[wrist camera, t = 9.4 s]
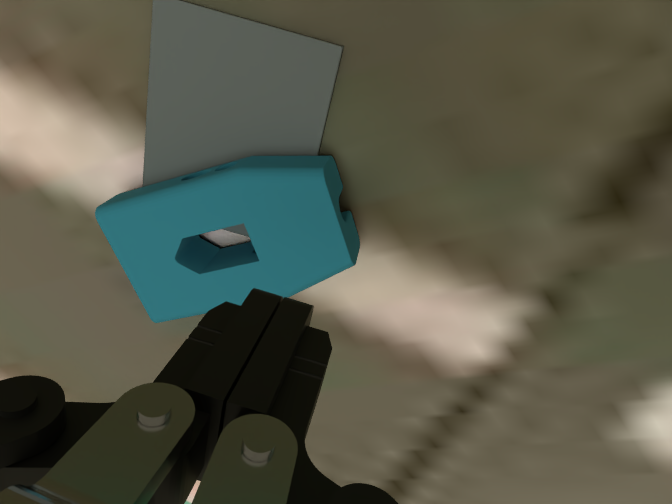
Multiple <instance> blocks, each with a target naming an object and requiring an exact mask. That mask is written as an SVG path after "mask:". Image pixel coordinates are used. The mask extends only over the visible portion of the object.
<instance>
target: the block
mask: <svg viewBox="0 0 672 504" xmlns="http://www.w3.org/2000/svg"><path fill="white" fill-rule="evenodd" d="M342 189H343V185H342V182H341V179H340V175H339V172H338V169H337V166H336V163H335V160H334V158H333V157H332V156H250V157H246V158H243V159H239V160H236V161H232V162H229V163H225V164H222V165H218V166H215V167H211V168H208V169H204V170H201V171H197V172H194V173H190V174H187V175H183V176H180V177H176V178H173V179H169V180H166V181H162V182H159V183H155V184H152V185H148V186H145V187H141V188H138V189H134V190H131V191H127V192H124V193H120V194H118V195H116V196H114V197H113V198H111V199H110V200H108V201H106V202H105V203H103V204H101V205H100V206H98V207H97V209H96V212H95V216H96V219H97V221H98V223H99V225H100V227H101V229H102V231H103V232H104V234H105V236H106V238H107V240H108V242H109V243H110V245H111V247H112V249H113V251H114V253H115V254H116V256H117V258H118V260H119V262H120V264H121V265H122V267H123V269H124V271H125V273H126V274H127V276H128V278H129V280H130V282H131V284H132V285H133V287H134V289H135V291H136V293H137V295H138V296H139V298H140V300H141V302H142V304H143V306H144V307H145V309H146V311H147V313H148V315H149V317H150V318H151V320H152V321H153V322H155V323H159V322H164V321H169V320H174V319H179V318H184V317H190V316H195V315H200V314H205V313H207V312H208V311H209V310H211V309H213V308H214V307H216V306H218V305H220V304H222V303H224V302H226V301H227V302H230V303H233V304H237V305H240V306H241V305H242V303H243V302H244V300H245V299H246V297H247V296H248V294H249V293H250V291H251V290H252V289H253V288H256V289H260V290H263V291H266V292H269V293H273V294H276V295H279V296H283V298H284V297H286V298H287V297H290V296H292V295H294V294H296V293H298V292H300V291H302V290H305V289H307V288H309V287H311V286H313V285H315V284H317V283H319V282H321V281H323V280H325V279H327V278H329V277H331V276H333V275H335V274H337V273H339V272H341V271H344V270H346V269H348V268H350V267H352V266H354V265H355V264H356V260H357V256H358V252H359V248H360V241H359V236H358V232H357V229H356V226H355V223H354V220H353V217H352V213H351V212H350V211H345V212H340V207H339V196H340V194H341V191H342ZM243 223H244V225H245V227H246V230H247V232H248V235H249V237H250V239H251V242H247V243H243V244H239V245H235V246H230V247H226V248H222V249H220V248H218V247H216V246H214V245H212V244H211V243H209V242H207V241H205V240H203V239H201V238H200V237H199V234H202V233H206V232H210V231H215V230H219V229H223V228H227V227H231V226H235V225H239V224H243Z"/></svg>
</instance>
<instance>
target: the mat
mask: <svg viewBox="0 0 672 504" xmlns="http://www.w3.org/2000/svg"><path fill="white" fill-rule="evenodd" d="M343 47H344V46H340V45H337V44H333V43H330V42H326V41H323V40H319V39H316V38H312V37H309V36H305V35H302V34H298V33H295V32H291V31H288V30H284V29H281V28H277V27H274V26H270V25H267V24H263V23H260V22H256V21H252V20H249V19H245V18H242V17H238V16H235V15H231V14H228V13H224V12H221V11H217V10H214V9H210V8H207V7H203V6H200V5H196V4H193V3H189V2H186V1H182V0H153V10H152V28H151V45H150V63H149V81H148V99H147V117H146V135H145V153H144V171H143V187H145V186H148V185H152V184H155V183H159V182H162V181H166V180H169V179H173V178H176V177H180V176H183V175H187V174H190V173H194V172H197V171H201V170H204V169H208V168H211V167H215V166H218V165H222V164H225V163H229V162H232V161H236V160H239V159H243V158H246V157H250V156H318V154H319V150H320V145H321V141H322V137H323V132H324V128H325V124H326V120H327V115H328V111H329V107H330V103H331V98H332V94H333V90H334V86H335V81H336V77H337V73H338V69H339V64H340V60H341V56H342V52H343ZM223 229H224V230H227V231H231V232H234V233H238V234H241V235H244V236H248V237H249V235H248V232H247V230H246V227H245V225H244V223H243V224H239V225H235V226H231V227H227V228H223Z"/></svg>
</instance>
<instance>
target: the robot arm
mask: <svg viewBox="0 0 672 504" xmlns="http://www.w3.org/2000/svg"><path fill="white" fill-rule="evenodd" d="M313 307H314V306H313V305H309V304H306V303H303V302H300V301H296V300H293V299H290V298H286V297H284V298H283V296H279V295H276V294H273V293H269V292H266V291H263V290H260V289H256V288H253V289H252V290H251V291H250V293H249V294H248V296H247V297H246V299H245V300H244V302H243V303H242V305H241V306H240V305H237V304H233V303H230V302H227V301H226V302H224V303H222V304H220V305H218V306H216V307H214V308H213V309H211V310H209V311H208V312H207V313H206V315H205V316H204V317H203V318H202V320H201V321H200V322H199V324H198V326H197V327H196V328H195V329H194V330H193V331H192V333H191V334H190V335H189V338H188V339H186V340H185V342H184V343H183V344H182V346H181V347H180V348H179V349H178V351H177V352H176V353H175V355H174V356H173V357H172V358H171V360H170V361H169V362H168V364H167V365H166V366H165V367H164V369H163V370H162V371H161V373H160V374H159V375H158V376H157V378H156V379H155V380H154V382H153V383H148V384H143V385H140V386H137V387H135V388H133V389H130V390H129V391H127V392H126V393H124V394H123V395H122V396H121V397H120V398H119V399H118V400H117V401H116V402H111V403H84V402H65V395H64V391H63V389H62V388H61V386H60V385H59V384H57V383H56V382H55V381H53V380H51V379H48V378H46V377H41V376H32V375H30V376H18V377H13V378H8V379H5V380H1V381H0V504H184V503H185V501H186V499H187V498H188V496H189V494H190V492H191V490H192V488H193V486H194V484H195V482H196V480H199V481H201V482H200V485H199V487H198V490H197V492H196V494H195V497H194V499H193V502H192V504H398V503H397V502H396V501H395V500H394V499H393V498H392V497H391V496H390V495H389V494H388V493H386V492H385V491H383V490H381V489H380V488H377V487H375V486H372V485H369V484H363V483H354V484H349V485H346V486H344V487H340V486H338V485H337V484H336V483H334V482H333V481H331V480H330V479H328V478H327V477H326V476H324V475H323V474H322V473H321V472H320V471H319V470H318V469H317V468H316V467H315V466H314V465H313V463H312V462H311V460H310V458H309V456H308V454H307V451H306V448H305V438H306V435H307V431H308V428H309V425H310V422H311V419H312V415H313V412H314V409H315V406H316V403H317V400H318V396H319V393H320V390H321V386H322V382H323V379H324V375H325V372H326V368H327V365H328V361H329V358H330V354H331V351H332V346H331V342H330V338H329V334H328V332H325V331H322V330H319V329H316V328H312V327H309V325H310V321H311V317H312V313H313Z"/></svg>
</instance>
